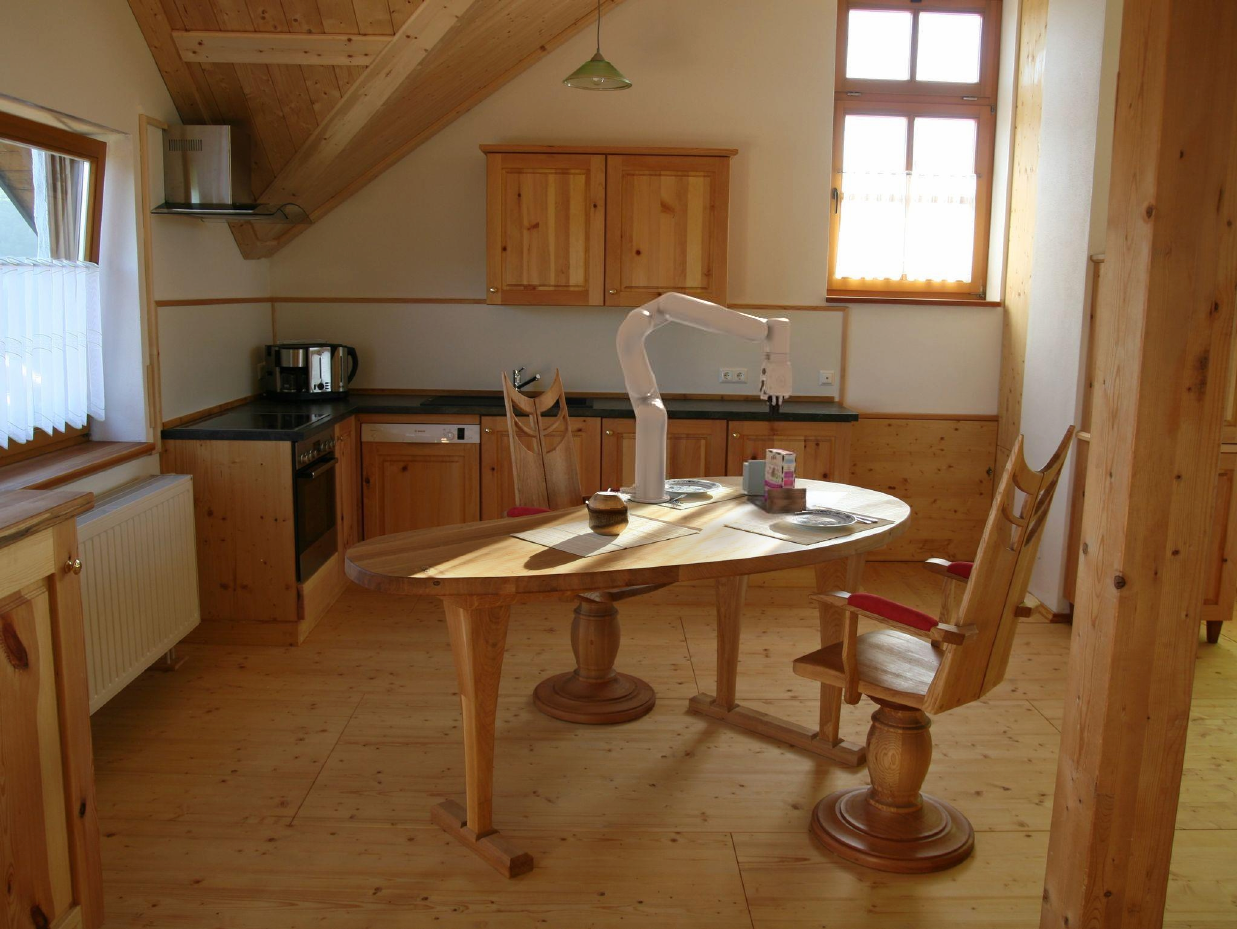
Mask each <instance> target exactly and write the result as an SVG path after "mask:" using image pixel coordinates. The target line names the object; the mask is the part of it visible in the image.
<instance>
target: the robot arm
mask: <svg viewBox="0 0 1237 929" xmlns="http://www.w3.org/2000/svg"><path fill="white" fill-rule="evenodd" d="M672 321H673V322H677V323H680V324H683V325H687V326H691V327H693V328H698V329H701V330H704V331H708V332H711V333H716V334H717V333H718V334H721V335H722V334H723V335H727V336H730V337H733V338H738V339H741V340H743V341H747V342H751V343H753V344H754V343H755V344H756V343H760V342H762V341H764V354H763V355H762V356H761V357H762V359H763V362H762V365H761V369H760V375H759V388H758V389H759V393H760V399H761V400H762V399H763V400H765V401H766V402H767V404H768V417H770V418H780V410H781V408H780V407H781V405H782V403H783V401H784V400H786V399H789V397H790V395H791V394H792V393H793V370H792V364H791V362H789V361H790V360H789V356H790V337H791V336H790V334H791V321H790V320H789V319H787V318H779V317H778V318H775V317H773V318H768V319H767V318H761V317H760V318H759V317H755V316H753V315H749V314H745V313H742V312H739V311H735V310H731V309H729V308H727V307H724V306H722V305H719V304H715V303H713V302H710V301H706V300H704V299H703V300H702V299H699V298H696V297H692V296H689V295H685V294H682V293H678V292H675V291H674V292H666V293H664V294H662V295H660V296H659V297H657V298H655V299H653V300H651V301H649V302H647V303H645V304H643V305H641V306H639V307H636V308H635V309H633V310H631V311H630V312H629V313H628V315H627V316H626V318H625V319H624V320H623V322H622V323H621V324H620V326H619V328H618V331H617V334H616V340H615V341H616V344H615V345H616V351H617V355H618V359H619V362H620V366H621V368H622V373H623V375H624V383H625V386H626V390H627V393H628V396H629V399H630V402H631V405H632V409H633V411H634V414H635V419H636V420H635V421H636V422H635V426H636V427H635V464H634V465H635V470H634V471H635V474H634V475H635V477H634V482H635V483H633V484H632V486H630V487H620V488H619V491H620V492H619V493H620V494H621V495H623V494H625V495H630V496H629V499H630V500H631V501H632V502H636V503H640V504H641V503H643V504H660V503H666V502H668V501H671V500H670V499H671V497H670V495H669V494H666V471H667V470H666V469H667V465H666V463H667V461H666V460H667V457H666V456H667V429H668V414H667V409H666V407H665V406H664V403H663V400H662V398H661V395H660V391H659V387H658V385H657V380H656V376H655V375H654V374H655V373H653V370H652V368H651V365H650V362H649V359H648V354H647V352H646V349H645V339H646V337H647V336H648V335H649V334H650V333H651V332H652V331H653V330H654V331H655V330H656V329H658V328H661V327H662V326H664V325H666V324H668V323H669V322H672Z"/></svg>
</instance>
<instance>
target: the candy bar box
mask: <svg viewBox="0 0 1237 929" xmlns="http://www.w3.org/2000/svg"><path fill="white" fill-rule="evenodd" d="M765 460H766V466H765V490H764V495H763V497H764V500H765V501H767V489H771V488H796V471H797V470H796V469H797V468H796V467H797V453H795V452H791V451H788V450H784V449H782V448H781V449H780V448H769V449H768V448H767V449H765Z"/></svg>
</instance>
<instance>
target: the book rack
mask: <svg viewBox="0 0 1237 929" xmlns="http://www.w3.org/2000/svg"><path fill="white" fill-rule="evenodd" d="M746 500H747V501H748V502H750V503H751V504H753V505H754V506H755V507H758V508H759V509H761V510H762V511H764V512H765V513H766V514H768V515H773V514H776V515H777V514H796V513H795V512H802V511H813V512H814V510H813V509H811V508H810V507H809V506H807V488H806V487H795V488H771V489H767V501H765V500H764V496H747V497H746Z"/></svg>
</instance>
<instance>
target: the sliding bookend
mask: <svg viewBox="0 0 1237 929" xmlns="http://www.w3.org/2000/svg"><path fill="white" fill-rule="evenodd" d="M765 466H766V459H763V460H762V459H761V460H759V459H757V460H753V459H752V460H747V462H743V464H742V490H743V491H744V492H745V493H746V495H747V496H750V495H751V496H756V495H760V496H761V495H763V496H764V490H765Z"/></svg>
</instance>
